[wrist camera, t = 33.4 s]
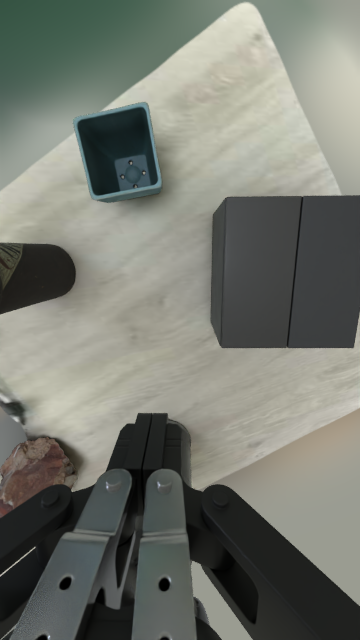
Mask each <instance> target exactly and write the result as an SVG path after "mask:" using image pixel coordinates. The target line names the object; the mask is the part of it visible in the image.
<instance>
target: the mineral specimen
mask: <svg viewBox="0 0 360 640" xmlns="http://www.w3.org/2000/svg"><path fill="white" fill-rule="evenodd" d="M0 473H1V475H2V478H3V479H2V480H1V484H0V518H1V517H3V516H4V515H6V514H7V513H9V512H10V511H12V510H13V509H15V508H16V507H18V506H19V505H21V504H22V503H24V502H25V501H26V500H28V499H29V498H31V497H32V496H34V495H35V494H37V493H38V492H40V491H41V490H43V489H45V488H47V487H49V486H51V485H55V484H64V485H67V486H68V487H69V488H70V489H71V488H72V487H73V483H74V482H75V481H76V480H77V471H76V469H74V466H73V464H72V463H71V462H70V461H69V459H68V458H67V457H66V456H65V455H64V451H63V450H62V449H61V448H60V447H59V444H58V443H57V442H56V441H55V439H49V437H46V438H39V439H37V440H36V441H31V440H30V441H28V440H27V441H26V442H25V443H20V444H18V445H17V446H16V447H15V448H14V450H13V451H12V454H11V455H10V457H9V458H7V459H6V461H5V463H4V464H3V465H2V466H1V468H0Z"/></svg>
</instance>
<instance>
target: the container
mask: <svg viewBox="0 0 360 640" xmlns="http://www.w3.org/2000/svg"><path fill="white" fill-rule="evenodd" d="M74 280H75V267H74V264H73V261H72V259H71V258H70V256H69V255H68V254H67V253H66V252H65V251H64V250H63V249H62V248H60V247H58V246H56V245H51V244H23V243H0V314H3V313H6V312H10V311H13V310H17V309H20V308H23V307H26V306H30V305H33V304H36V303H40V302H43V301H47V300H50V299H54V298H57V297H60V296H62V295H64V294H66V293H67V292H68V291H69V290H70V289H71V287H72V286H73V284H74Z"/></svg>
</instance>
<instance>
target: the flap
mask: <svg viewBox="0 0 360 640" xmlns="http://www.w3.org/2000/svg"><path fill="white" fill-rule="evenodd" d="M301 198H302V196H273V197H227V198H226V225H225V254H224V284H223V313H222V342H221V347H222V348H287V338H288V328H289V318H290V308H291V298H292V288H293V278H294V268H295V258H296V248H297V238H298V228H299V218H300V208H301Z"/></svg>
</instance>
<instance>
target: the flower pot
mask: <svg viewBox="0 0 360 640" xmlns="http://www.w3.org/2000/svg"><path fill="white" fill-rule="evenodd" d="M73 125H74V130H75V133H76V137H77V141H78V145H79V149H80V153H81V157H82V161H83V165H84V169H85V174H86V178H87V182H88V187H89V192H90V195H91V198H92V199H93V200H97V201H101V202H107V203H111V202H117V201H122V200H127V199H132V198H137V197H142V196H147V195H152V194H158V193H160V192H161V189H162V178H161V173H160V168H159V163H158V157H157V152H156V146H155V140H154V135H153V128H152V123H151V117H150V110H149V106H148V104H147V103H146V102H141V103H136V104H132V105H128V106H124V107H120V108H116V109H111V110H107V111H102V112H98V113H93V114H88V115H83V116H78V117H76V118H75V119H73ZM130 161H132V162H133V164H132V165H130V164H129V162H130ZM142 171H145V172H146V173H145V175H143V174H142ZM122 175H124V179H122V178H121V176H122ZM134 185H137V188H134Z"/></svg>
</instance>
